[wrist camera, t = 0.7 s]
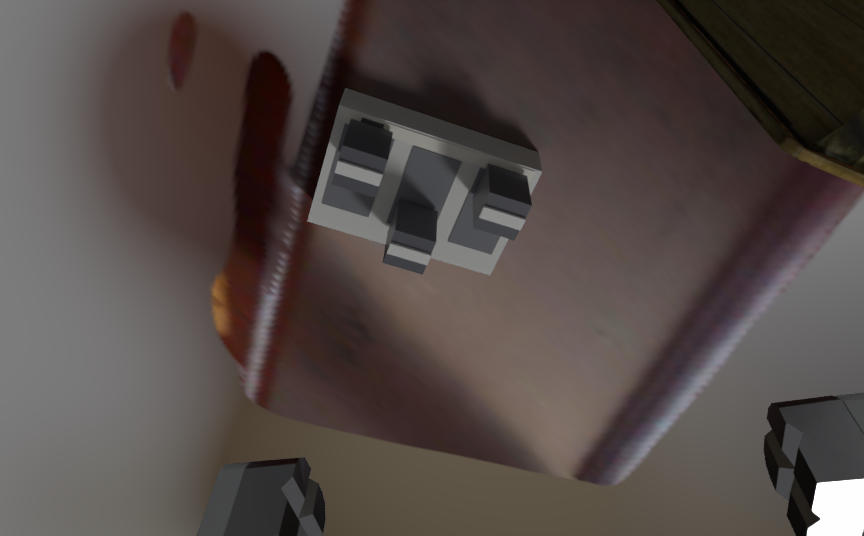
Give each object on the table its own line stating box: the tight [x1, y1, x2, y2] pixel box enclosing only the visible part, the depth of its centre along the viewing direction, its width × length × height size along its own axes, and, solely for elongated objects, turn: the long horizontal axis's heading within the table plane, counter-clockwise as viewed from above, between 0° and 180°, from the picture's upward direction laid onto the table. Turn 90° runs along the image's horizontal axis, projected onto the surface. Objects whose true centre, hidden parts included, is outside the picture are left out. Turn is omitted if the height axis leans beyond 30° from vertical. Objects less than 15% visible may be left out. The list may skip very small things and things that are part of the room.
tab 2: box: [473, 163, 532, 240], centre depth 47 cm, size 3×3×4 cm
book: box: [656, 0, 864, 187], centre depth 32 cm, size 16×6×25 cm, turn 68°
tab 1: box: [331, 119, 393, 198], centre depth 45 cm, size 3×3×4 cm
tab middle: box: [383, 200, 438, 274], centre depth 49 cm, size 3×3×4 cm
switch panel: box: [308, 88, 542, 275], centre depth 51 cm, size 10×15×3 cm, turn 71°
